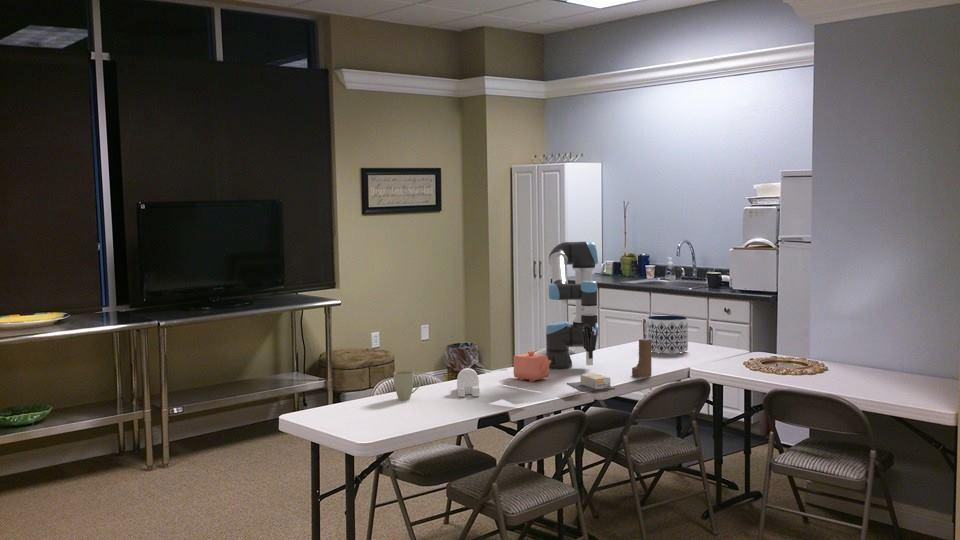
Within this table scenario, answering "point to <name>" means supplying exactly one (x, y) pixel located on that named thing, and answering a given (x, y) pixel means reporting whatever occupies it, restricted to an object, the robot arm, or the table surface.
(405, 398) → the mug
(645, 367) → the wooden block
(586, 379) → the supplement box
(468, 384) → the tape dispenser
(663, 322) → the planter
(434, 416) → the table surface
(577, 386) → the mat
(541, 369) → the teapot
